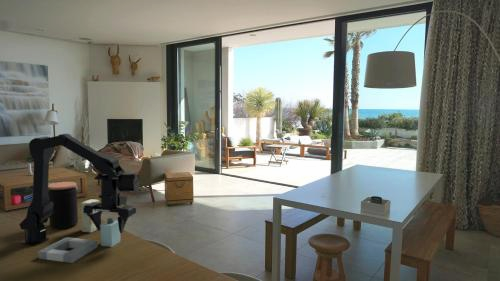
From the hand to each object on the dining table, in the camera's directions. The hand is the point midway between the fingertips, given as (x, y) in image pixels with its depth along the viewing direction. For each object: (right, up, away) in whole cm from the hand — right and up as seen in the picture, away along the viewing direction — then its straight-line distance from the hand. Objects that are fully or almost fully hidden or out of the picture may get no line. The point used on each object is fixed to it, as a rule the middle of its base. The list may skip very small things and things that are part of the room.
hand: (110, 231), depth 131 cm
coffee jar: (-27, -2, +18) cm, 32 cm away
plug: (0, -5, 0) cm, 5 cm away
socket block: (-11, -5, -8) cm, 15 cm away
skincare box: (-13, -3, +14) cm, 19 cm away
